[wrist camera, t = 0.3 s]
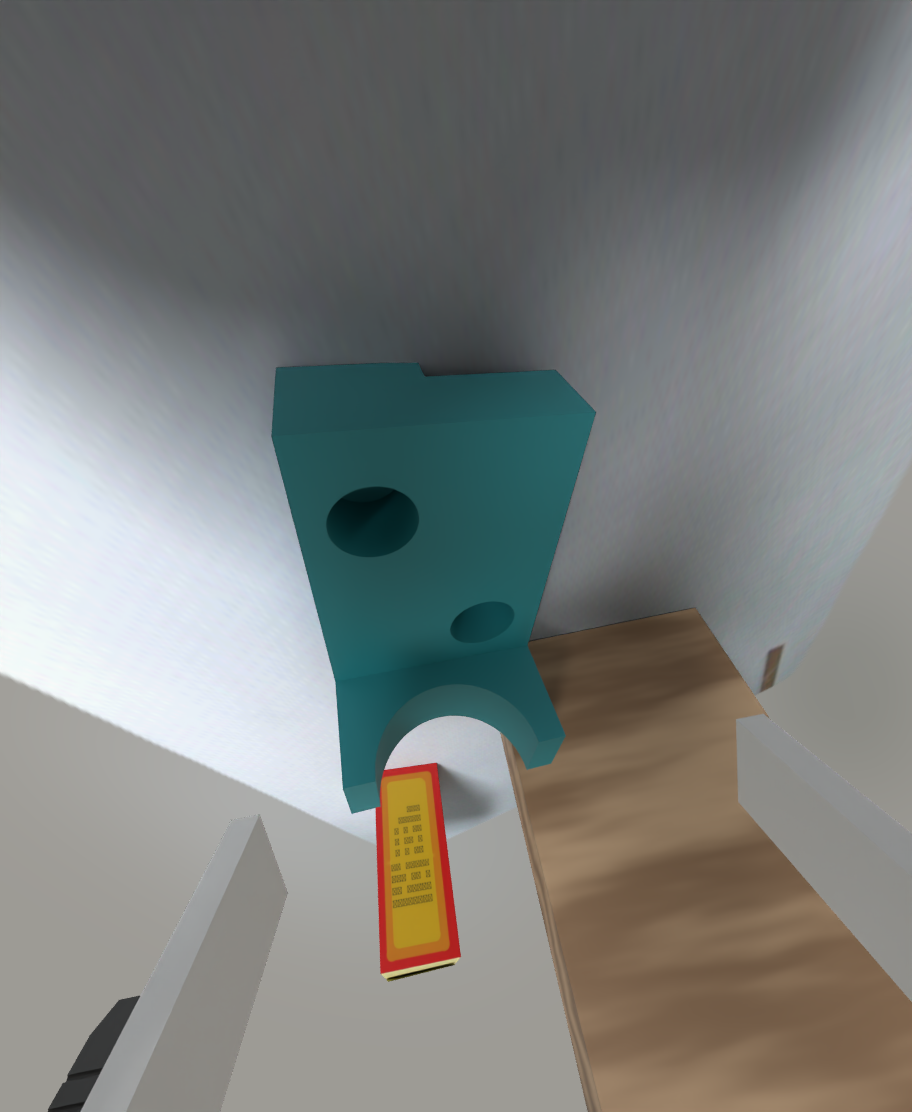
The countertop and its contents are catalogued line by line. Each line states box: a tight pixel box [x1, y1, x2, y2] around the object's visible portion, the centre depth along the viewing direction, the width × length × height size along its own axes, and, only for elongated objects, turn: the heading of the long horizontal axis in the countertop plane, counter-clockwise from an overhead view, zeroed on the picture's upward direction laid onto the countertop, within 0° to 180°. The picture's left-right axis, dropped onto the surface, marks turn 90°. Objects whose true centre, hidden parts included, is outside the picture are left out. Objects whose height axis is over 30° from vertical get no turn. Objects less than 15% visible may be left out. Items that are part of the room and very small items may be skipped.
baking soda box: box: [376, 763, 461, 982], centre depth 45 cm, size 10×6×16 cm
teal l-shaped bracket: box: [271, 363, 596, 814], centre depth 21 cm, size 18×11×10 cm, turn 177°
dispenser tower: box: [500, 608, 912, 1112], centre depth 28 cm, size 14×19×30 cm
